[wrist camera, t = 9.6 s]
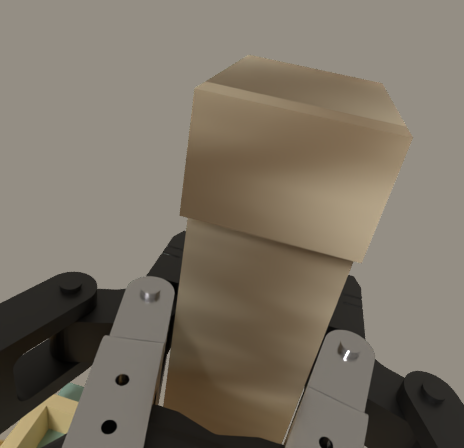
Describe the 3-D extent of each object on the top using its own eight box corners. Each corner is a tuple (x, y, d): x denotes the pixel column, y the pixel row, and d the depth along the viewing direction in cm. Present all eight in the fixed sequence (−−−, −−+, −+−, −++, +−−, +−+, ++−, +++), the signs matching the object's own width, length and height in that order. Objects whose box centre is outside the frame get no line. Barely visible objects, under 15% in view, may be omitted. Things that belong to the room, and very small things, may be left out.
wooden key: (143, 526, 14) (194, 87, 7) (186, 408, 18) (248, 54, 11) (239, 560, 14) (412, 138, 6) (262, 432, 18) (382, 83, 10)
